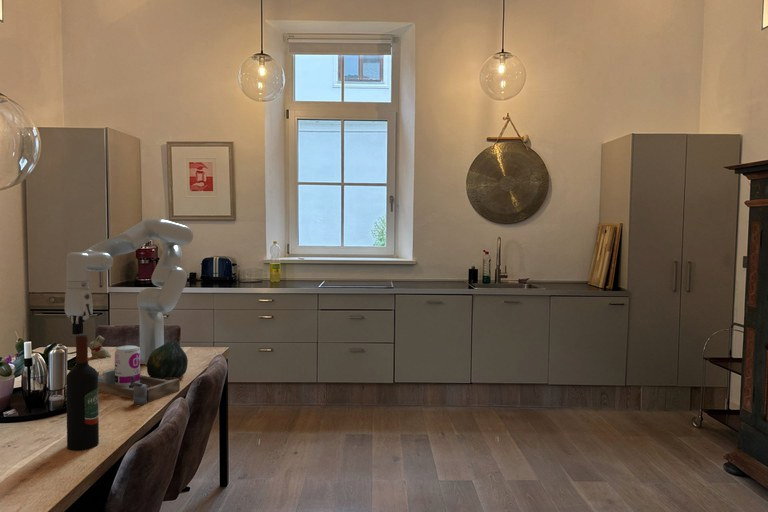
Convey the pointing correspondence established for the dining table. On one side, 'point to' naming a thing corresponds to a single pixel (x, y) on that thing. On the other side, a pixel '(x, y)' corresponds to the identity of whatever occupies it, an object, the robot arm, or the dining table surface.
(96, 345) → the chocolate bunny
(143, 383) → the bay
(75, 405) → the wine bottle
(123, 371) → the supplement can
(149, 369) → the squash
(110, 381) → the follower
